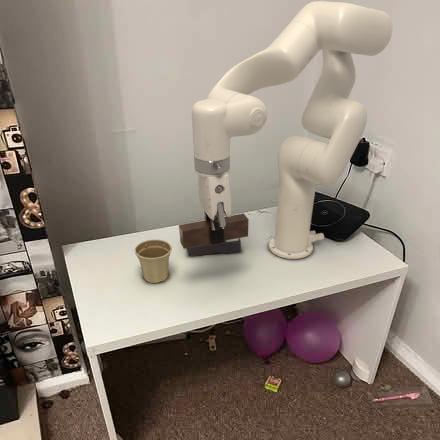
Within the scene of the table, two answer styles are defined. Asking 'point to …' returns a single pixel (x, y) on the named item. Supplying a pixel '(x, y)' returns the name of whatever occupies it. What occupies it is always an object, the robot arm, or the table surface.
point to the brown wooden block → (200, 230)
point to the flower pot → (154, 259)
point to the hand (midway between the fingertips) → (214, 238)
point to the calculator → (216, 248)
